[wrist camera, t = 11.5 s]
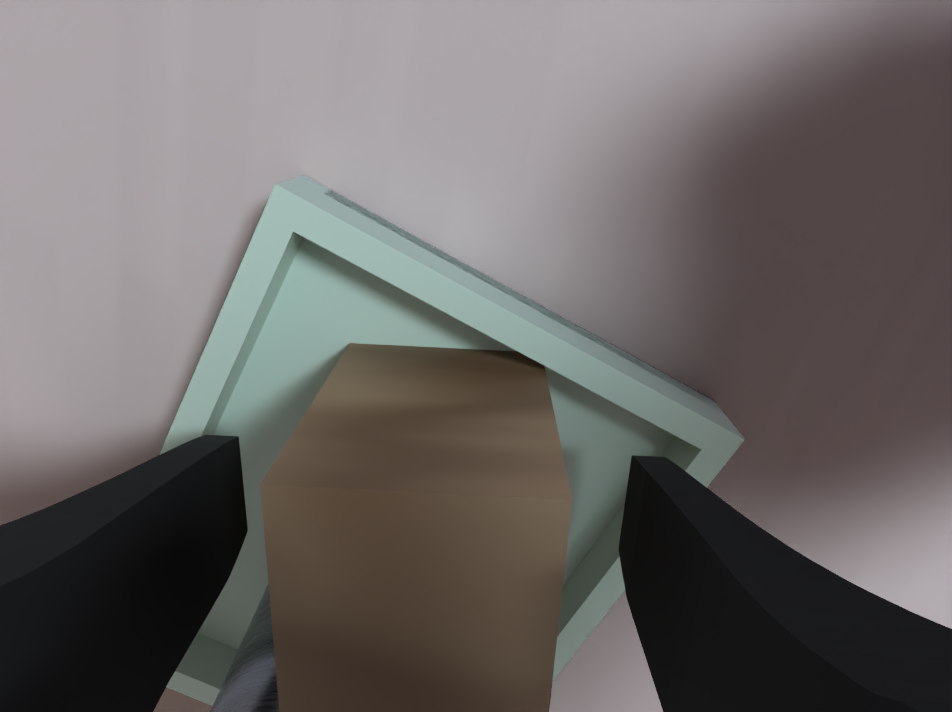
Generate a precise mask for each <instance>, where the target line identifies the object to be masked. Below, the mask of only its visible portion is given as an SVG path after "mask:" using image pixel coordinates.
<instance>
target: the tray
mask: <svg viewBox="0 0 952 712" xmlns="http://www.w3.org/2000/svg"><path fill="white" fill-rule="evenodd" d="M349 343H359V344H379V345H399V346H420V347H440V348H460V349H481V350H501V351H518V352H520V353H522V354H523V355H525V356H527V357H529V358H531V359H533V360H535V361H537V362H538V363H540V364H542V365H544V366H545V371H546V376H547V381H548V385H549V390H550V395H551V400H552V404H553V409H554V414H555V419H556V424H557V428H558V433H559V438H560V443H561V448H562V452H563V457H564V462H565V467H566V471H567V476H568V481H569V486H570V491H571V495H572V509H571V518H570V527H569V536H568V545H567V554H566V563H565V572H564V581H563V590H562V599H561V608H560V617H559V626H558V634H557V643H556V652H555V661H554V670H553V679H552V682H553V681H554V680H555V678H556V677H557V676H558V674H559V673H560V672H561V671H562V669H563V668H564V667H565V666H566V664H567V663H568V662H569V661H570V659H571V658H572V657H573V656H574V654H575V653H576V652H577V651H578V649H579V648H580V647H581V646H582V644H583V643H584V642H585V640H586V639H587V638H588V637H589V635H590V634H591V633H592V632H593V630H594V629H595V628H596V627H597V625H598V624H599V623H600V622H601V620H602V619H603V618H604V617H605V615H606V614H607V613H608V612H609V610H610V609H611V608H612V606H613V605H614V604H615V603H616V601H617V600H618V599H619V598H620V596H621V595H622V594H623V593H624V591H625V585H624V580H623V574H622V568H621V562H620V556H619V550H618V548H619V541H620V534H621V527H622V520H623V513H624V506H625V499H626V492H627V485H628V478H629V471H630V464H631V457H632V455H635V456H655V457H666V458H668V459H669V460H671V461H672V462H674V463H675V464H677V465H678V466H679V467H681V468H682V469H683V470H685V471H686V472H687V473H688V474H690V475H691V476H692V477H694V478H695V479H696V480H697V481H699V482H700V483H701V484H703V485H704V486H705V487H706V488H707V487H708V486H709V484H710V483H711V482H712V480H713V479H714V478H715V477H716V475H717V474H718V473H719V472H720V470H721V469H722V468H723V467H724V465H725V464H726V463H727V462H728V460H729V459H730V458H731V457H732V455H733V454H734V453H735V452H736V450H737V449H738V448H739V446H740V445H741V444H742V443H743V441H744V440H745V439H744V438H743V436H742V435H741V434H740V433H739V431H738V430H737V429H736V427H735V426H734V425H733V424H732V422H731V421H730V420H729V419H728V417H727V416H726V415H725V413H724V412H723V411H722V410H721V408H720V407H719V406H718V404H717V403H716V402H715V401H713V400H711V399H710V398H708V397H706V396H704V395H702V394H701V393H699V392H697V391H695V390H693V389H691V388H690V387H688V386H686V385H684V384H682V383H681V382H679V381H677V380H675V379H673V378H671V377H670V376H668V375H666V374H664V373H662V372H661V371H659V370H657V369H655V368H653V367H651V366H650V365H648V364H646V363H644V362H642V361H641V360H639V359H637V358H635V357H633V356H631V355H630V354H628V353H626V352H624V351H622V350H621V349H619V348H617V347H615V346H613V345H611V344H610V343H608V342H606V341H604V340H602V339H601V338H599V337H597V336H595V335H593V334H591V333H590V332H588V331H586V330H584V329H582V328H581V327H579V326H577V325H575V324H573V323H571V322H570V321H568V320H566V319H564V318H562V317H561V316H559V315H557V314H555V313H553V312H551V311H550V310H548V309H546V308H544V307H542V306H541V305H539V304H537V303H535V302H533V301H531V300H530V299H528V298H526V297H524V296H522V295H521V294H519V293H517V292H515V291H513V290H511V289H510V288H508V287H506V286H504V285H502V284H501V283H499V282H497V281H495V280H493V279H491V278H490V277H488V276H486V275H484V274H482V273H481V272H479V271H477V270H475V269H473V268H471V267H470V266H468V265H466V264H464V263H462V262H461V261H459V260H457V259H455V258H453V257H451V256H450V255H448V254H446V253H444V252H442V251H441V250H439V249H437V248H435V247H433V246H431V245H430V244H428V243H426V242H424V241H422V240H421V239H419V238H417V237H415V236H413V235H411V234H410V233H408V232H406V231H404V230H402V229H401V228H399V227H397V226H395V225H393V224H391V223H390V222H388V221H386V220H384V219H382V218H381V217H379V216H377V215H375V214H373V213H371V212H370V211H368V210H366V209H364V208H362V207H361V206H359V205H357V204H355V203H353V202H351V201H350V200H348V199H346V198H344V197H342V196H341V195H339V194H337V193H335V192H333V191H331V190H330V189H328V188H326V187H324V186H322V185H321V184H319V183H317V182H315V181H313V180H311V179H310V178H308V177H306V176H304V175H303V176H299V177H296V178H293V179H290V180H287V181H283V182H280V183H277V184H275V185H274V188H273V190H272V192H271V195H270V197H269V199H268V202H267V204H266V206H265V209H264V211H263V213H262V216H261V218H260V220H259V223H258V225H257V227H256V230H255V232H254V234H253V237H252V239H251V241H250V244H249V246H248V248H247V251H246V253H245V255H244V258H243V260H242V262H241V265H240V267H239V269H238V272H237V274H236V276H235V279H234V281H233V283H232V286H231V288H230V290H229V293H228V295H227V297H226V300H225V302H224V304H223V307H222V309H221V311H220V314H219V316H218V318H217V321H216V323H215V325H214V328H213V330H212V332H211V335H210V337H209V339H208V342H207V344H206V346H205V349H204V351H203V353H202V356H201V358H200V360H199V363H198V365H197V367H196V370H195V372H194V374H193V377H192V379H191V381H190V384H189V386H188V388H187V391H186V393H185V395H184V398H183V400H182V402H181V405H180V407H179V409H178V412H177V414H176V416H175V419H174V421H173V423H172V426H171V428H170V430H169V433H168V435H167V438H166V440H165V442H164V445H163V447H162V449H161V452H160V454H159V455H161V454H163V453H165V452H167V451H169V450H171V449H173V448H175V447H177V446H179V445H182V444H184V443H186V442H188V441H191V440H193V439H195V438H198V437H201V436H204V435H221V436H239V444H240V455H241V465H242V475H243V485H244V496H245V506H246V516H247V527H248V532H247V535H246V537H245V540H244V542H243V545H242V548H241V550H240V553H239V555H238V558H237V560H236V563H235V565H234V567H233V570H232V572H231V574H230V577H229V579H228V581H227V582H226V584H225V586H224V588H223V590H222V591H221V593H220V595H219V597H218V598H217V600H216V602H215V604H214V605H213V607H212V609H211V611H210V612H209V614H208V616H207V618H206V619H205V621H204V623H203V624H202V626H201V628H200V630H199V631H198V633H197V635H196V636H195V638H194V640H193V642H192V643H191V645H190V647H189V648H188V650H187V652H186V654H185V655H184V657H183V659H182V660H181V662H180V664H179V666H178V667H177V669H176V671H175V672H174V674H173V676H172V677H171V679H170V681H169V683H168V684H167V686H166V688H169V689H171V690H174V691H176V692H178V693H181V694H183V695H186V696H188V697H191V698H193V699H196V700H198V701H201V702H203V703H206V704H208V705H210V706H213V704H214V702H215V700H216V697H217V695H218V693H219V691H220V689H221V686H222V684H223V682H224V680H225V678H226V675H227V673H228V671H229V669H230V666H231V664H232V662H233V660H234V658H235V655H236V653H237V651H238V649H239V647H240V644H241V642H242V640H243V638H244V636H245V633H246V631H247V629H248V627H249V625H250V622H251V620H252V618H253V616H254V614H255V611H256V609H257V607H258V605H259V603H260V600H261V598H262V596H263V594H264V592H265V589H266V587H267V585H268V571H267V559H266V548H265V536H264V524H263V512H262V500H261V488H260V484H261V482H262V481H263V479H264V477H265V476H266V474H267V473H268V471H269V470H270V468H271V466H272V465H273V463H274V462H275V460H276V458H277V457H278V455H279V454H280V452H281V451H282V449H283V447H284V446H285V444H286V443H287V441H288V439H289V438H290V436H291V435H292V433H293V432H294V430H295V428H296V427H297V425H298V424H299V422H300V420H301V419H302V417H303V416H304V414H305V413H306V411H307V409H308V408H309V406H310V405H311V403H312V402H313V400H314V398H315V397H316V395H317V394H318V392H319V390H320V389H321V387H322V386H323V384H324V383H325V381H326V379H327V378H328V376H329V375H330V373H331V371H332V370H333V368H334V367H335V365H336V364H337V362H338V360H339V359H340V357H341V356H342V354H343V352H344V351H345V349H346V348H347V346H348V345H349Z"/></svg>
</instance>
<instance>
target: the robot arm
mask: <svg viewBox="0 0 952 712" xmlns="http://www.w3.org/2000/svg"><path fill="white" fill-rule="evenodd" d="M247 532H248V527H247V516H246V506H245V496H244V485H243V475H242V465H241V455H240V444H239V436H221V435H204V436H201V437H198V438H195V439H193V440H191V441H188V442H186V443H184V444H182V445H179V446H177V447H175V448H173V449H171V450H169V451H167V452H165V453H163V454H161V455H159V456H157V457H155V458H153V459H151V460H149V461H146V462H144V463H142V464H140V465H138V466H136V467H134V468H132V469H130V470H128V471H126V472H124V473H122V474H120V475H118V476H116V477H114V478H112V479H110V480H108V481H105V482H103V483H101V484H99V485H97V486H94V487H92V488H90V489H88V490H86V491H83V492H81V493H79V494H77V495H74V496H72V497H70V498H68V499H66V500H63V501H61V502H59V503H57V504H54V505H52V506H50V507H47V508H45V509H43V510H40V511H38V512H35V513H33V514H30V515H28V516H25V517H23V518H20V519H17V520H15V521H12V522H9V523H6V524H4V525H1V526H0V712H153V711H154V709H155V707H156V705H157V703H158V701H159V699H160V697H161V695H162V694H163V692H164V690H165V688H166V686H167V684H168V683H169V681H170V679H171V677H172V676H173V674H174V672H175V671H176V669H177V667H178V666H179V664H180V662H181V660H182V659H183V657H184V655H185V654H186V652H187V650H188V648H189V647H190V645H191V643H192V642H193V640H194V638H195V636H196V635H197V633H198V631H199V630H200V628H201V626H202V624H203V623H204V621H205V619H206V618H207V616H208V614H209V612H210V611H211V609H212V607H213V605H214V604H215V602H216V600H217V598H218V597H219V595H220V593H221V591H222V590H223V588H224V586H225V584H226V582H227V581H228V579H229V577H230V574H231V572H232V570H233V567H234V565H235V563H236V560H237V558H238V555H239V553H240V550H241V548H242V545H243V542H244V540H245V537H246V535H247ZM618 550H619V556H620V562H621V568H622V574H623V580H624V585H625V590H626V596H627V600H628V603H629V606H630V610H631V613H632V616H633V619H634V622H635V625H636V629H637V632H638V635H639V638H640V641H641V644H642V647H643V650H644V653H645V656H646V660H647V663H648V666H649V669H650V672H651V675H652V678H653V681H654V684H655V687H656V690H657V693H658V696H659V699H660V703H661V706H662V709H663V712H952V629H950V628H947V627H945V626H943V625H940V624H938V623H936V622H933V621H931V620H929V619H926V618H924V617H922V616H919V615H917V614H915V613H912V612H910V611H908V610H906V609H904V608H902V607H900V606H898V605H896V604H893V603H891V602H889V601H887V600H885V599H883V598H881V597H879V596H877V595H874V594H872V593H870V592H868V591H866V590H864V589H862V588H860V587H859V586H857V585H855V584H853V583H851V582H849V581H847V580H845V579H843V578H841V577H840V576H838V575H836V574H834V573H833V572H831V571H829V570H827V569H826V568H824V567H822V566H820V565H819V564H817V563H815V562H813V561H812V560H810V559H808V558H806V557H805V556H803V555H801V554H800V553H798V552H797V551H795V550H793V549H792V548H790V547H789V546H787V545H786V544H784V543H783V542H781V541H780V540H778V539H777V538H775V537H774V536H772V535H771V534H769V533H768V532H766V531H765V530H763V529H762V528H760V527H759V526H757V525H756V524H754V523H753V522H752V521H750V520H749V519H747V518H746V517H745V516H743V515H742V514H741V513H739V512H738V511H737V510H735V509H734V508H732V507H731V506H730V505H728V504H727V503H726V502H725V501H723V500H722V499H721V498H719V497H718V496H717V495H715V494H714V493H713V492H712V491H710V490H709V489H708V488H706V487H705V486H704V485H703V484H701V483H700V482H699V481H697V480H696V479H695V478H694V477H692V476H691V475H690V474H688V473H687V472H686V471H685V470H683V469H682V468H681V467H679V466H678V465H677V464H675V463H674V462H672V461H671V460H669V459H668V458H666V457H655V456H635V455H632V457H631V464H630V471H629V478H628V485H627V492H626V499H625V506H624V513H623V520H622V527H621V534H620V541H619V548H618Z"/></svg>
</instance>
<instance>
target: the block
mask: <svg viewBox="0 0 952 712" xmlns="http://www.w3.org/2000/svg"><path fill="white" fill-rule="evenodd" d="M260 488H261V500H262V512H263V524H264V536H265V548H266V559H267V571H268V583H269V595H270V607H271V619H272V631H273V643H274V654H275V666H276V678H277V690H278V702H279V712H549V706H550V697H551V688H552V679H553V670H554V661H555V652H556V643H557V634H558V626H559V617H560V608H561V599H562V590H563V581H564V572H565V563H566V554H567V545H568V536H569V527H570V518H571V509H572V495H571V491H570V486H569V481H568V476H567V471H566V467H565V462H564V457H563V452H562V448H561V443H560V438H559V433H558V428H557V424H556V419H555V414H554V409H553V404H552V400H551V395H550V390H549V385H548V381H547V376H546V371H545V366H544V365H542V364H540V363H538V362H537V361H535V360H533V359H531V358H529V357H527V356H525V355H523V354H522V353H520V352H518V351H501V350H481V349H460V348H440V347H420V346H399V345H379V344H359V343H349V345H348V346H347V348H346V349H345V351H344V352H343V354H342V356H341V357H340V359H339V360H338V362H337V364H336V365H335V367H334V368H333V370H332V371H331V373H330V375H329V376H328V378H327V379H326V381H325V383H324V384H323V386H322V387H321V389H320V390H319V392H318V394H317V395H316V397H315V398H314V400H313V402H312V403H311V405H310V406H309V408H308V409H307V411H306V413H305V414H304V416H303V417H302V419H301V420H300V422H299V424H298V425H297V427H296V428H295V430H294V432H293V433H292V435H291V436H290V438H289V439H288V441H287V443H286V444H285V446H284V447H283V449H282V451H281V452H280V454H279V455H278V457H277V458H276V460H275V462H274V463H273V465H272V466H271V468H270V470H269V471H268V473H267V474H266V476H265V477H264V479H263V481H262V482H261V484H260Z"/></svg>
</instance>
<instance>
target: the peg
mask: <svg viewBox="0 0 952 712" xmlns="http://www.w3.org/2000/svg"><path fill="white" fill-rule="evenodd" d="M210 712H279V702H278V690H277V678H276V666H275V654H274V643H273V631H272V619H271V607H270V595H269V583H268V585H267V587H266V589H265V592H264V594H263V596H262V598H261V600H260V603H259V605H258V607H257V609H256V611H255V614H254V616H253V618H252V620H251V622H250V625H249V627H248V629H247V631H246V633H245V636H244V638H243V640H242V642H241V644H240V647H239V649H238V651H237V653H236V655H235V658H234V660H233V662H232V664H231V666H230V669H229V671H228V673H227V675H226V678H225V680H224V682H223V684H222V686H221V689H220V691H219V693H218V695H217V697H216V700H215V702H214V704H213V706H212V708H211V711H210Z"/></svg>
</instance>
